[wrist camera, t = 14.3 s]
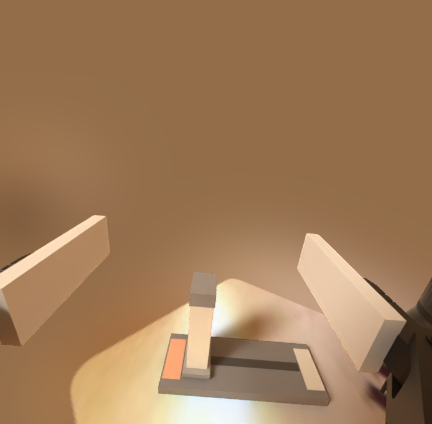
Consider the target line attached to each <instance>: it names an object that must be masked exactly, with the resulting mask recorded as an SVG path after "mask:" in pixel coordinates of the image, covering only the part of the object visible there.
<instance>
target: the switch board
mask: <svg viewBox="0 0 432 424" xmlns="http://www.w3.org/2000/svg"><path fill="white" fill-rule="evenodd" d="M187 338H188V335H184V334H172V333H171V337H170V341H169V345H168V349H167V354H166V358H165V362H164V366H163V370H162V374H161V378H160V382H159V386H158V393H162V394H175V395H188V396H201V397H214V398H227V399H240V400H254V401H267V402H280V403H293V404H306V405H319V406H327V405H328V403H329V401H330V398H329V396H328V393H327V391H326V389H325V386H324V384H323V382H322V379H321V377H320V374H319V372H318V370H317V367H316V365H315V363H314V360H313V358H312V356H311V353H310V351H309V349H308V346H307V344H295V343H283V342H271V341H258V340H246V339H234V338H221V337H211V338H210V339H211V364H210V379H201V378H188V377H182V370H183V364H184V357H185V351H186V345H187Z"/></svg>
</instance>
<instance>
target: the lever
mask: <svg viewBox="0 0 432 424" xmlns="http://www.w3.org/2000/svg"><path fill="white" fill-rule="evenodd" d="M216 281H217V274H216V273H203V272H194V275H193V280H192V285H191V291H190V302H189V306H190V316H189V332H188V338H187V345H186V351H185V357H184V364H183V370H182V377H188V378H201V379H210V364H211V339H210V338H211V329H212V320H213V311H214V308H215V302H216Z"/></svg>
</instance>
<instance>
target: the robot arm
mask: <svg viewBox="0 0 432 424" xmlns="http://www.w3.org/2000/svg"><path fill="white" fill-rule="evenodd" d="M109 254H110V248H109V239H108V231H107V222H106V216H97V215H94V216H92V217H90V218H89V219H87V220H86V221H84V222H82V223H81V224H79V225H78V226H76V227H74V228H73V229H71V230H69V231H68V232H66V233H65V234H63V235H61V236H60V237H58V238H56V239H55V240H53V241H52V242H50V243H48V244H47V245H45V246H44V247H42V248H40V249H39V250H37V251H35V252H33V253H30V254H28V255H25V256H23V257H21V258H19V259H17V260H16V261H14V262H13V263H11V264H10V265H7V266H6V267H4V268H3V269H1V271H0V342H1V344H2V345H13V346H23V344H24V343H25V342H26V341H27V340H28V339H29V338H30V337H31V336H32V335H33V334H34V333H35V332H36V331H37V330H38V328H40V327H41V325H42V324H43V323H44V322H45V321H46V320H47V319H48V318H49V317H50V316H51V315H52V314H53V313H54V312H55V311H56V310H57V309H58V308H59V306H60V305H61V304H62V303H63V302H64V301H65V300H66V299H67V298H68V297H69V296H70V295H71V294H72V293H73V292H74V291H75V290H76V288H77V287H78V286H79V285H80V284H81V283H82V282H83V281H84V280H85V279H86V278H87V277H88V276H89V275H90V274H91V273H92V271H94V269H95V268H96V267H97V266H98V265H99V264H100V263H101V262H102V261H103V260H104V259H105V258H106V257H107V256H108V255H109ZM297 269H298V271H299V272H300V274H301V275H302V277H303V279H304V281H305V283H306V284H307V286H308V288H309V289H310V291H311V293H312V294H313V296H314V297H315V299H316V301H317V303H318V304H319V306H320V308H321V309H322V311H323V313H324V315H325V316H326V318H327V320H328V321H329V323H330V325H331V326H332V328H333V330H334V331H335V333H336V335H337V336H338V338H339V340H340V341H341V343H342V345H343V346H344V348H345V350H346V352H347V353H348V355H349V357H350V358H351V360H352V362H353V363H354V365H355V367H356V368H357V370H358V372H371V373H378V371H379V369H380V368H381V366H382V364H383V362H384V363H385V365H386V366H387V367H388V369H389V370H390V372H391V373H390V374H389V376H388V378H387V379H386V381H385V383H384V384H383V386H382V388H381V390H380V392H381V393H383V394H384V392H385V391H386V390H387V399H386V422H385V424H432V278H431V280H430V282H429V284H428V285H427V287H426V289H425V290H424V292H423V294H422V295H421V297H420V299H419V301H418V302H417V304H416V306H415V307H413V308H412V309H410V310H409V311H407V312H404V311H403V310H402V309H401V308H400V307H399V306H398V305H397V304H396V303H395V302H393V301H392V300H391V298H390V297H388V296H387V295H385V293H384V292H383V291H382V290H381V289H380V288H379V287H378V286H377V285H375V284H374V283H372V282H371V281H369V280H367V279H366V278H362V277H361V276H360V275H359V274H358V273H357V272H356V271H355V270H354V269H353V268H352V267H351V266H350V265H349V264H348V263H347V262H346V261H345V260H344V259H343V258H342V257H341V256H340V255H339V254H338V253H337V252H335V250H334V249H333V248H332V247H331V246H330V245H328V244H327V243H326V242H325V241H324V240H323V239H322V238H321V237H320V236H319V235H318V234H306V238H305V242H304V245H303V249H302V253H301V256H300V260H299V264H298V267H297Z"/></svg>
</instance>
